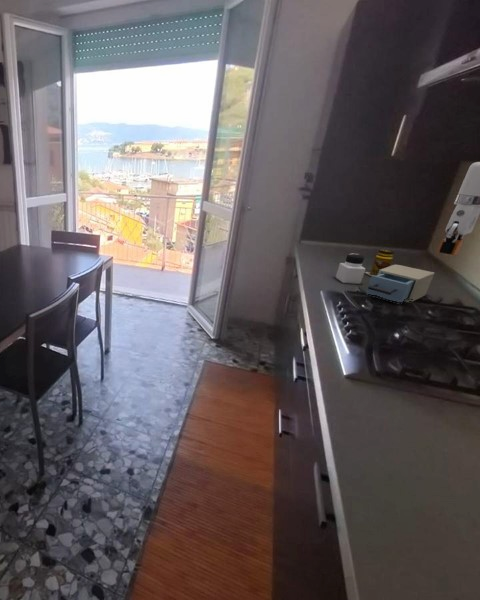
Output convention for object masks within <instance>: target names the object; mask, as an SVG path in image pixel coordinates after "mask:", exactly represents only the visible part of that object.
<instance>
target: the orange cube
mask: <svg viewBox="0 0 480 600" xmlns="http://www.w3.org/2000/svg"><path fill="white" fill-rule="evenodd" d="M444 240H445V238H443V239H442V240H441V242H440V244H439V247H438V248H437V251H436V253H440V252H439V251H440V249H441V246H442V244H443V242H444ZM455 243H456V245H455V247H454V249H453V251H452V253H451V254H449V255H450V256H451V255H452V256H455V255H458V254H459V253H460V251H461V248H462V247H463V245H464V240H462V241H461V240H456V242H455Z"/></svg>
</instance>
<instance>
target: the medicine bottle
mask: <svg viewBox="0 0 480 600" xmlns="http://www.w3.org/2000/svg"><path fill="white" fill-rule="evenodd" d="M364 260H365V256H364V255H362V254H360V253H348V254H347V255H346V258H345V261H344V262H339V265H338V267H337V271H336V275H335V278H336V279H337V280H338V281H340V282H341V283H342V284H353V285H354V284H358V285H362V281H363V280H364V279H363V278H364V276H365V274H366V273H365V272H366V269H367V268H365V267H364V266H363V263H364Z"/></svg>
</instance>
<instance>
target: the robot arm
mask: <svg viewBox="0 0 480 600" xmlns="http://www.w3.org/2000/svg"><path fill="white" fill-rule="evenodd" d="M453 205H456V206H455V208H454V209H453V212H452V213H451V216H450V218H449V220H448V222H447V224H446V227H445V231H444V232H445V233H446V236H445V238H444V239H445V240H444V242H443V244H442V246H441V249H440V251H439V252H438V253H440V254H445V255H450V254H451V253H452V251H453V249H454V247H455V245H456V243H455V242H456V240H461V241H463V239H464V236H465V235H468V234H471V233H472V232H473V231H474V228H475V226H476V223H477V221H478V219H479V216H480V161H476V162H473V163H471V165H470V166H469V167H468V170H467V171H466V174H465V177H464V178H463V181H462V184H461V186H460V188H459V191H458V193H457V195H456V197H455V200H454V202H453Z"/></svg>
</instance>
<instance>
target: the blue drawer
mask: <svg viewBox="0 0 480 600" xmlns="http://www.w3.org/2000/svg"><path fill="white" fill-rule="evenodd" d="M415 282H416V280H411V279H407V278H403V277H399V276H395V275H390V274H386V273H382V274H380V275H377V276H375V275H372V276H370V279H369V283H368V285H367V289H366V291H365V294H366V293H367V294H366V295H367V296H369V297H372V296H371V295H377V296H380V297H383V298H386V299H389V300H393V301H397V302H402V303H401V304H399V303H397V304H398V305H402V304H403V302H404V301H403V300H404V299H406V298H409V297H410V294H411V292H412V289H413V287H414V284H415ZM368 294H371V295H368ZM373 297H375V296H373ZM375 298H378V297H375ZM378 299H379V298H378ZM383 300H385V299H383ZM385 301H386V300H385ZM390 302H392V301H390ZM392 303H393V302H392Z"/></svg>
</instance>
